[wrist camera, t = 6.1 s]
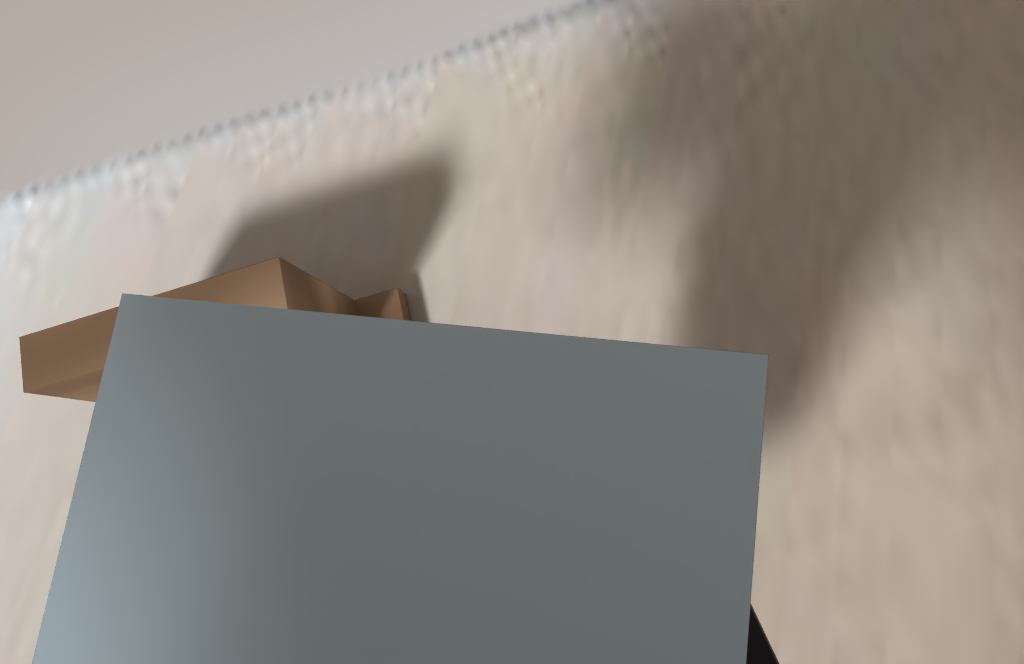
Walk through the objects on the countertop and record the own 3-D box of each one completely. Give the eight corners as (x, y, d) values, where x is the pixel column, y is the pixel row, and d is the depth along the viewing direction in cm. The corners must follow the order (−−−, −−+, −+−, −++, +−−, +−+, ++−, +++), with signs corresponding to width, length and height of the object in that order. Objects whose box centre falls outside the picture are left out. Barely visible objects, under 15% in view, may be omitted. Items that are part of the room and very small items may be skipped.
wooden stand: (498, 740, 22) (441, 830, 16) (165, 805, 23) (9, 908, 18) (405, 293, 25) (330, 241, 19) (118, 377, 27) (-26, 351, 21)
